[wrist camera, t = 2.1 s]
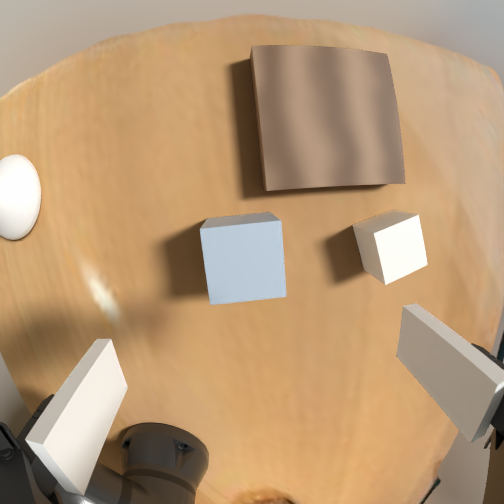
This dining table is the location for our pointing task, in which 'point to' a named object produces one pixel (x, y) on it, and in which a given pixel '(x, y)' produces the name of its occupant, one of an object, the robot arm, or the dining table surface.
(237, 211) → the dining table surface
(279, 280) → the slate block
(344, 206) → the dining table surface
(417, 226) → the white cube
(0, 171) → the flower in vase
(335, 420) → the dining table surface
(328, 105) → the walnut block
